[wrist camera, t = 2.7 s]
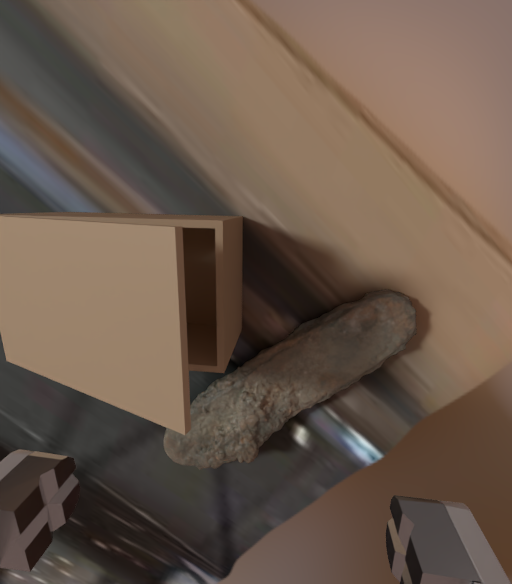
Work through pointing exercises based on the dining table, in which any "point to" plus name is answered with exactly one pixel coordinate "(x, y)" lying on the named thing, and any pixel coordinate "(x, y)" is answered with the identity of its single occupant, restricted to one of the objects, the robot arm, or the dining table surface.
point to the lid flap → (99, 311)
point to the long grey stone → (292, 379)
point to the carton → (198, 278)
